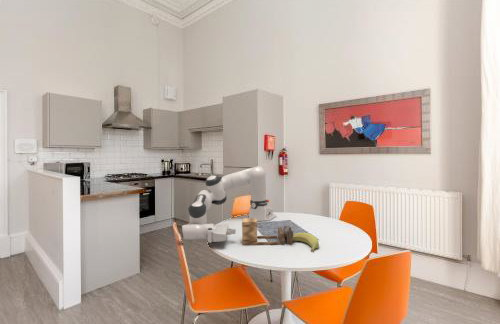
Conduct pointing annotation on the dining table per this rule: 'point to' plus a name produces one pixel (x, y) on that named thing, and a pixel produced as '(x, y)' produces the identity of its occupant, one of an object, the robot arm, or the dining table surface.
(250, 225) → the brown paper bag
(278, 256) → the dining table surface
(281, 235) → the wooden rack
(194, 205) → the robot arm
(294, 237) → the banana
